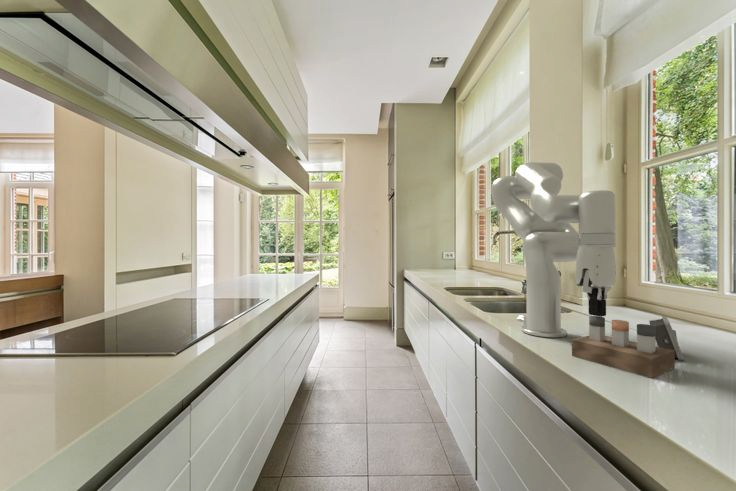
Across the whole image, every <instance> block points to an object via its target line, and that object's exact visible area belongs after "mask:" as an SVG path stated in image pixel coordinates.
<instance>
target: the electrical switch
mask: <svg viewBox="0 0 736 491" xmlns="http://www.w3.org/2000/svg"><path fill="white" fill-rule="evenodd" d="M648 322H649V325H653V326H655V327H656V336H655V343H656V344H657V347H661V348H665V349H670V350H675V358H677V360H678V361H684V357H683V354H682V351H681V348H680V346H679V341H678V336H677V331H676V329H673V327H672V325H671V322H670V321H669V318H668V317H667V315H661V318H660V319H653V320H649V321H648Z"/></svg>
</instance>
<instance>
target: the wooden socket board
mask: <svg viewBox="0 0 736 491" xmlns="http://www.w3.org/2000/svg"><path fill="white" fill-rule="evenodd" d="M571 356H572V357H575V358H578V359H583V360H585V361H589V362H593V363H595V364H599V365H604V366H607V367H610V368H614V369H618V370H622V371H625V372H628V373H632V374H635V373H636V375H640V376H642V375H643V376H642V377H646V376H647V377H646V378H649V379H653V378H655V377H657V376H661V375H663V374H664V372H665V373H667V372H670V371H672V370H674V369H675V359H676V357H675V350H670V349H665V348H661V347H658V346H656V345H655V352H654V353H652V354H651V353H647V352H643V351H638V350H637V341H632V340H629V346H627V347H621V346H616V345H612V336H608V335H605V341H602V342H599V341H595V340H590V339H589V335H585V336H581V337H577V338H572V339H571ZM662 373H663V374H662Z"/></svg>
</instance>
